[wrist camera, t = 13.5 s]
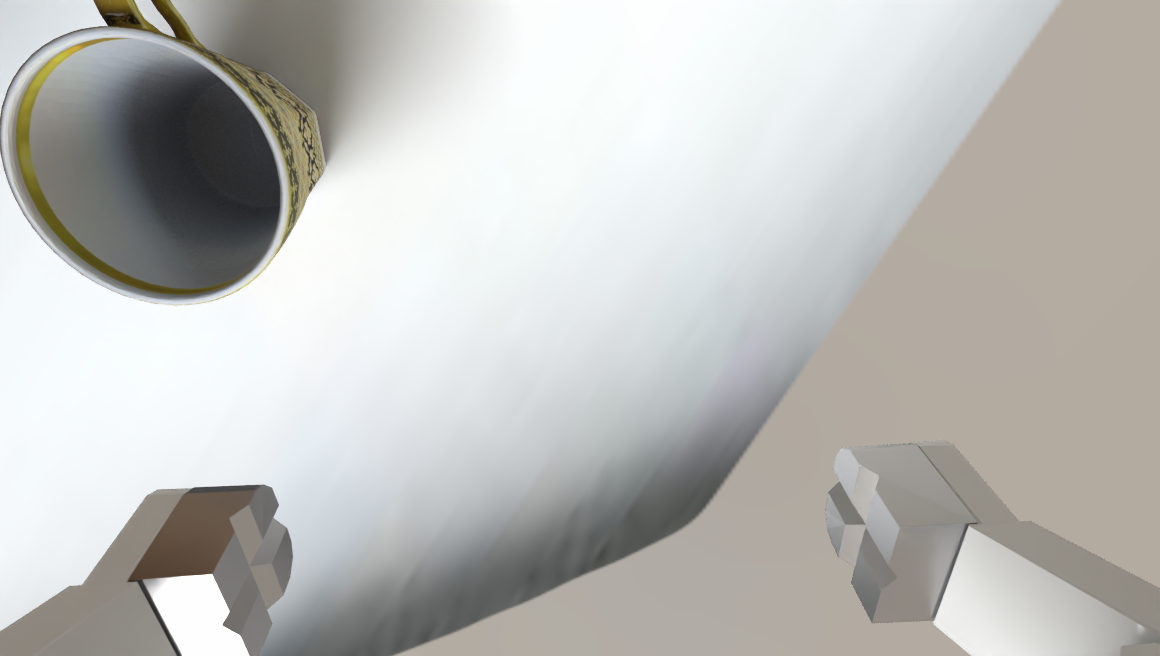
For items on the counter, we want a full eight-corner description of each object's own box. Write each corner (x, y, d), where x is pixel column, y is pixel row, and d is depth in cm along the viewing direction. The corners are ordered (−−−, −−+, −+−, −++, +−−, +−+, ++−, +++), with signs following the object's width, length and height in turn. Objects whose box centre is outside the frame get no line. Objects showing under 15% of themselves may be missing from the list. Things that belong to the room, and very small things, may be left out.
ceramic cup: (375, 234, 35) (313, 299, 26) (185, 245, 35) (54, 313, 26) (329, -43, 30) (231, -86, 21) (107, -33, 30) (-90, -72, 21)
